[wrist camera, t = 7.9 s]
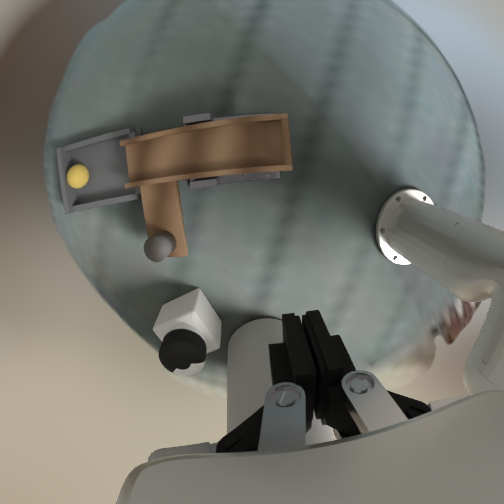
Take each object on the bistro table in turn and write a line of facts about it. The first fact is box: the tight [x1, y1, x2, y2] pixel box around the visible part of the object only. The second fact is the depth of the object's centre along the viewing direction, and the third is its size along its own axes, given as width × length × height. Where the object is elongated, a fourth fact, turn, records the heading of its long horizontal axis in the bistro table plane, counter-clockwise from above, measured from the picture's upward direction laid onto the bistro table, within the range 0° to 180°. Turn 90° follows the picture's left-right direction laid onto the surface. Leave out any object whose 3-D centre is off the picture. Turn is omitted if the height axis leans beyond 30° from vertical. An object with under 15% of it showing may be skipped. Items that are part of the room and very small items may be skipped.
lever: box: [120, 113, 293, 262], centre depth 30 cm, size 20×16×4 cm
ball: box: [67, 164, 89, 189], centre depth 33 cm, size 4×4×4 cm
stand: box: [183, 113, 280, 189], centre depth 32 cm, size 12×9×7 cm
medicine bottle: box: [153, 288, 222, 376], centre depth 38 cm, size 7×7×12 cm
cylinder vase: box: [227, 318, 334, 445], centre depth 34 cm, size 12×12×25 cm
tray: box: [56, 128, 142, 214], centre depth 33 cm, size 13×10×4 cm
